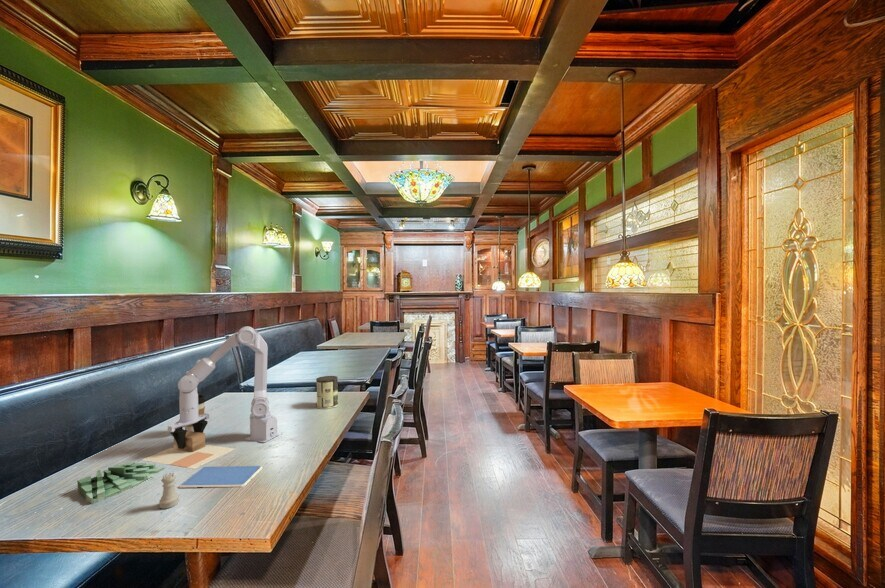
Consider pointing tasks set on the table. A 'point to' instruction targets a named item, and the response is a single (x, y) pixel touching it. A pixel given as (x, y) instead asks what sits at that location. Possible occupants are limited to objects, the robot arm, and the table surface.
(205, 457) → the mat
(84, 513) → the table surface
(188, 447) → the two tone block
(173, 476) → the rook chess piece
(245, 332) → the robot arm
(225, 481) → the tablet computer
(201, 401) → the coffee cup
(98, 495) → the money
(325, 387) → the coffee can
